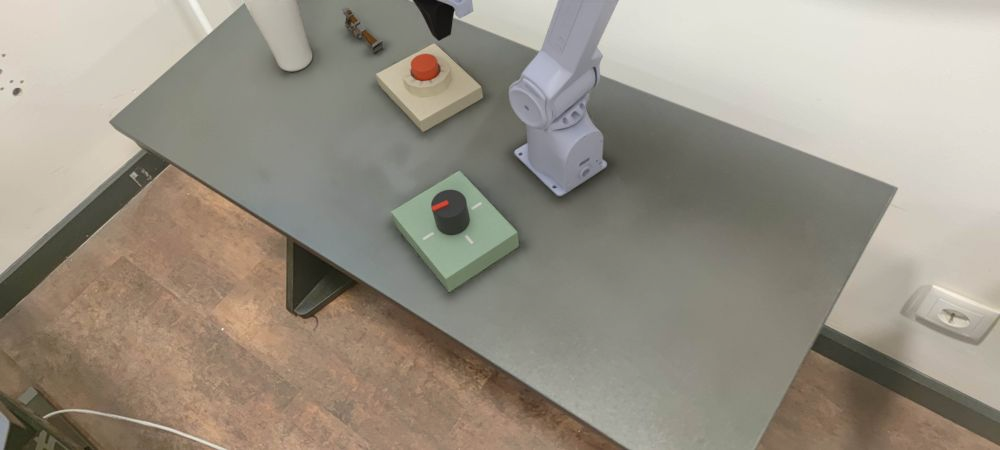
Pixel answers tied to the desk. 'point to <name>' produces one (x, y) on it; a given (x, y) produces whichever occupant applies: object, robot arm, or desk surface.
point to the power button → (424, 67)
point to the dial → (450, 212)
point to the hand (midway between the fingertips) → (442, 35)
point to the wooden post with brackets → (360, 30)
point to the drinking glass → (282, 31)
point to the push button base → (430, 89)
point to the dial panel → (463, 251)
